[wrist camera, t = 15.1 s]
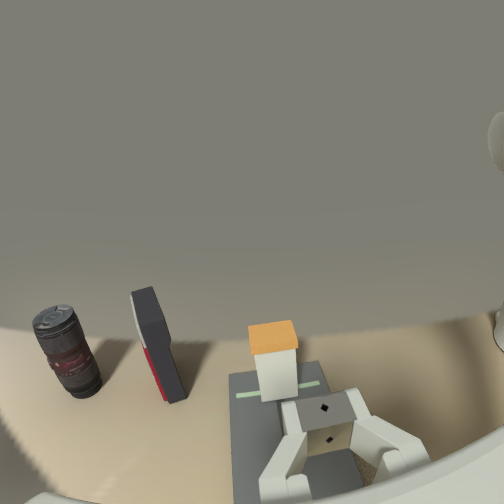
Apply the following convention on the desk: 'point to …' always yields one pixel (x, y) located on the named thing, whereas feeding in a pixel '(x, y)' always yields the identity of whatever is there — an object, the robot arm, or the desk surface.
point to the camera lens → (67, 350)
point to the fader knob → (275, 359)
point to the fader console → (280, 438)
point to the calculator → (156, 343)
